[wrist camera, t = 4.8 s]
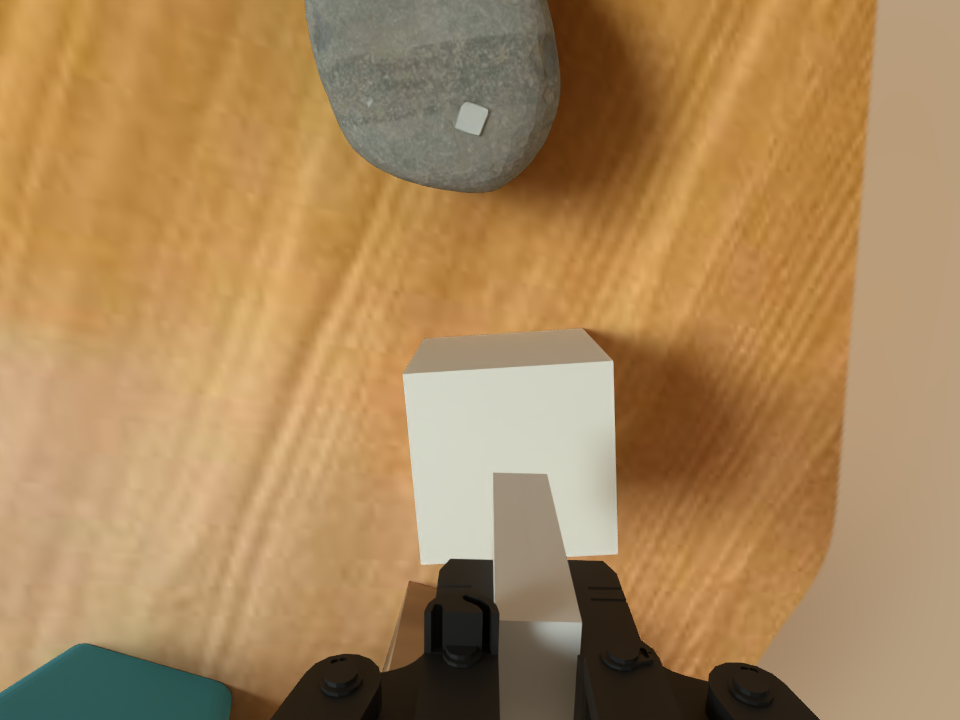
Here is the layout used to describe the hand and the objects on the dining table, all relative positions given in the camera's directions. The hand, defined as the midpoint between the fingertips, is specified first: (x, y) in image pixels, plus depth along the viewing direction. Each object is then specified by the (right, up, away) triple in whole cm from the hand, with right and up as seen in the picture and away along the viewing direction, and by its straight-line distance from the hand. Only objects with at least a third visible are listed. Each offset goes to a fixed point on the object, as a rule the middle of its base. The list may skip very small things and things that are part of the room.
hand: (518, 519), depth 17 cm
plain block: (0, +2, +11) cm, 11 cm away
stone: (-2, +17, +8) cm, 19 cm away
